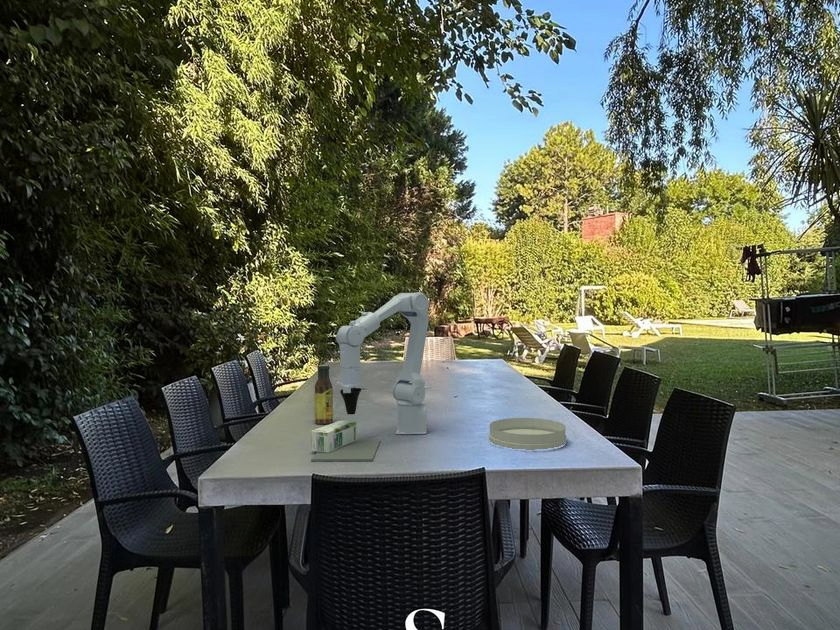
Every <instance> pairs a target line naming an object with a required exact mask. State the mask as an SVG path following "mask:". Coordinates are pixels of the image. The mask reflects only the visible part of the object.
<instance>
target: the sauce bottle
mask: <svg viewBox="0 0 840 630" xmlns="http://www.w3.org/2000/svg"><path fill="white" fill-rule="evenodd" d="M333 418H334V388H333V385H332V382H331V379H330V365H328V364H322V365H321V364H319V365H317V380H316V382H315V384H314V423H315V424H316V425H329V424H332V423H333Z"/></svg>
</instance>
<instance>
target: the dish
mask: <svg viewBox="0 0 840 630" xmlns="http://www.w3.org/2000/svg"><path fill="white" fill-rule="evenodd" d="M566 430H567V429H566V425H564V424H563V423H561V422H559V421H556V420H551V419H546V418H538V417H537V418H536V417H512V418H511V417H510V418H509V417H507V418H503V419H496V420H494V421H492V422H490V424H489V434H488V441H489V440H490V442H492V443H493V444H495V445H499V446H502V447H507V448H512V449H526V450H535V449H548V448H554V447H559V446H561V445H564V444H565V443H566V444H567V435H566ZM490 442H489V443H490Z"/></svg>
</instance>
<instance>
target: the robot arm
mask: <svg viewBox="0 0 840 630" xmlns="http://www.w3.org/2000/svg"><path fill="white" fill-rule="evenodd" d="M429 307H430V300H429V299H428V298H427V296H426V294H425V293H423V292H421V291H417V292H400V293H398V294H397V295H394V296H393V297H392V298H391V299H390V300H389V301H386V303H385V304H384V305H382V306H381V307H379V308H378V309H377V310H375V311H374V312H371V311H368V312H366V311H364V312H362V313H361V316H360V317H358V318H357V319H355V320H350V322H349V325H342V326H341V327H340V328H339V329H338V331H337V334H336V335H335V340H336V342H337V343H338V345H339V346H338V347H339V359H340V360H339V361H340V363H339V364H340V381H337V382H336V386H340V387H341V388H342V389H340V391H339V393H340V395H341V397H342V399H343V402H344V407H345V411H346V414H347V415H355V414H356V413H357V412H356V410H357V408H358V407H357V405H358V400H359V396H360V394H361V392H362V388H361V387H360V386H361V385H362V381H361V376H362V375H361V345H362V344H363V343H364V341H365V338H366V337H368V336H369V335H370V334H372V333H373V332H375V331H376V330H378V329H379V328H380V325H381V322H383V321H384V320H385V319H387V318H389V317H391V316H393V315H394V314H395V313H398V312H399V313H400V314H401V315H403V316H404V318H406V319H407V320H408V321H409V323H410V329H409V333H408V340H407V346H406V351H405V357H404V363H403V370H402V372H401V373H399V375H398V376H397V377H396V382H395V383H394V385H393V387H392V393H391V394H392V396H393V398H394V399H395V401H396V402H395V403H396V404H397V428H396V431H395V434H396V435H427V431H428V428H429V422H428V421H427V419H428V416H427V414H428V412H427V403H423V401H424V399H425V398H426V397H425V396H426V389H425V383H426V381H425V379H424V378H423V377H422V376H421V370H422V363H423V359H424V354H425V353H424V351H425V347H426V341H427V334H428V327H429V321H430V320H429V319H430V318H429Z"/></svg>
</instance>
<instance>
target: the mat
mask: <svg viewBox="0 0 840 630" xmlns="http://www.w3.org/2000/svg"><path fill="white" fill-rule="evenodd" d="M380 444H381V441H377V440H375V441H369V440H368V441H354V442H352V443H349V444H347V445H345V446H342V447H340V448H338V449H336V450H333V451H331V452H328V453H326V452H318V451H316V453H314V455H313V456H312V457H311V459H310V462H311V461H323V462H325V463H329V462H331V463H332V462H333V463H334V462H335V463H338V462H339V463H341V462H342V463H343V462H344V463H345V462H354V463H355V462H357V463H359V462H373V461H374V459H375V456H376V454H377V451H378V449H379V447H380ZM323 462H322V463H323Z"/></svg>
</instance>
